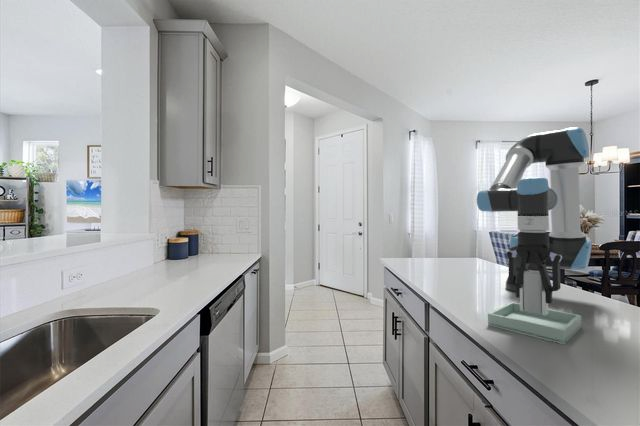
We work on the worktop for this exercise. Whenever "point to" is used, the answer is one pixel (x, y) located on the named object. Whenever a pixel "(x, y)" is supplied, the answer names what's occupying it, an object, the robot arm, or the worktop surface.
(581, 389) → the worktop surface
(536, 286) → the beverage can
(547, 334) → the tray
